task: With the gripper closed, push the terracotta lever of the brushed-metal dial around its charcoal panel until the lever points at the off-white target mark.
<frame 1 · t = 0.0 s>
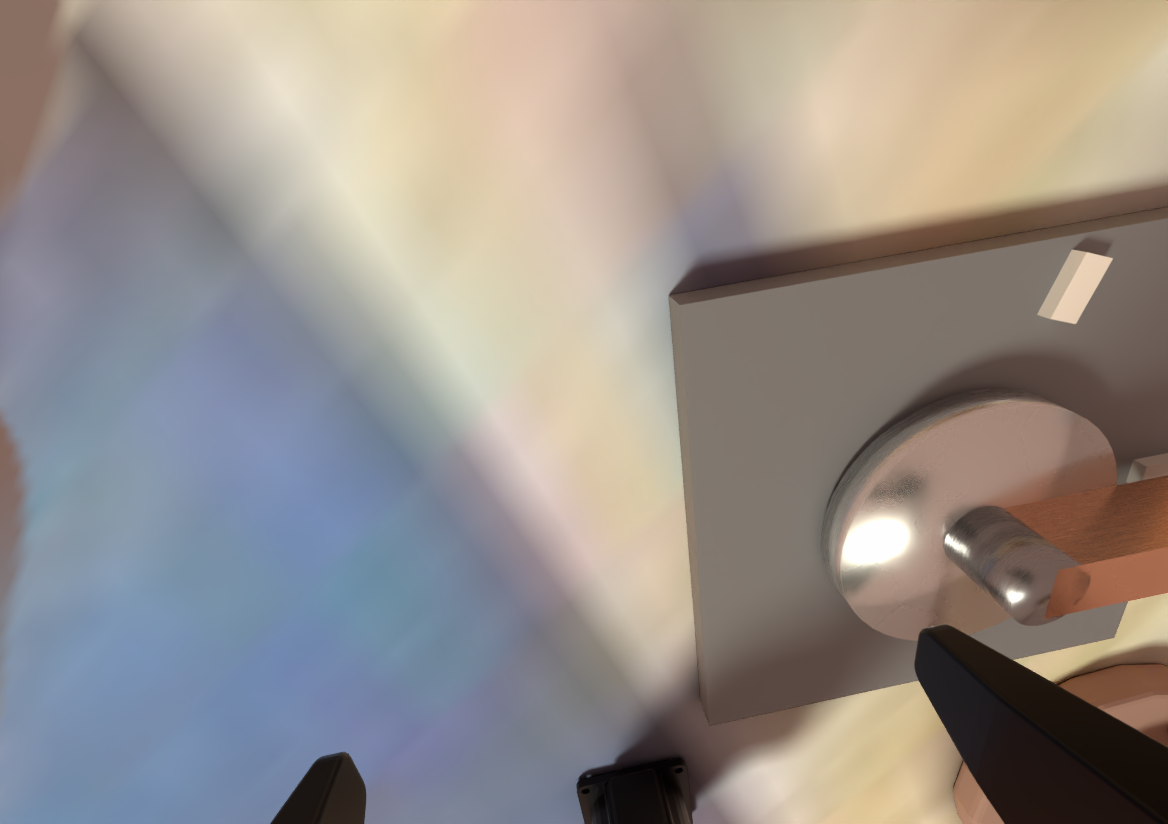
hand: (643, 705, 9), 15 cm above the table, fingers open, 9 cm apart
wooden pedestal stand: (1070, 750, 39), on the table
dial: (1052, 537, 23), point 4 cm above the table, hinge at 0.0°
panel: (922, 490, 27), on the table
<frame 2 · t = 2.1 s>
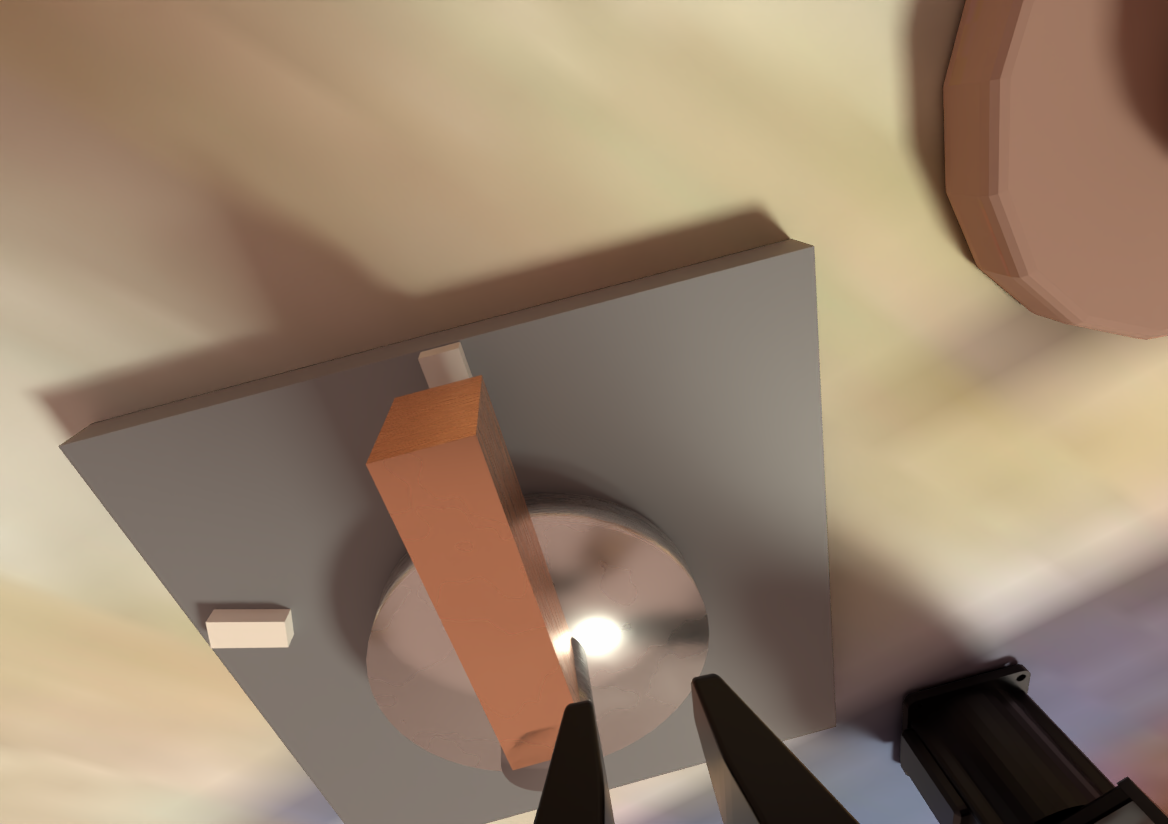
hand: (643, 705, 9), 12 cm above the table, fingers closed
dial: (525, 633, 18), point 4 cm above the table, hinge at 0.0°
panel: (538, 592, 23), on the table
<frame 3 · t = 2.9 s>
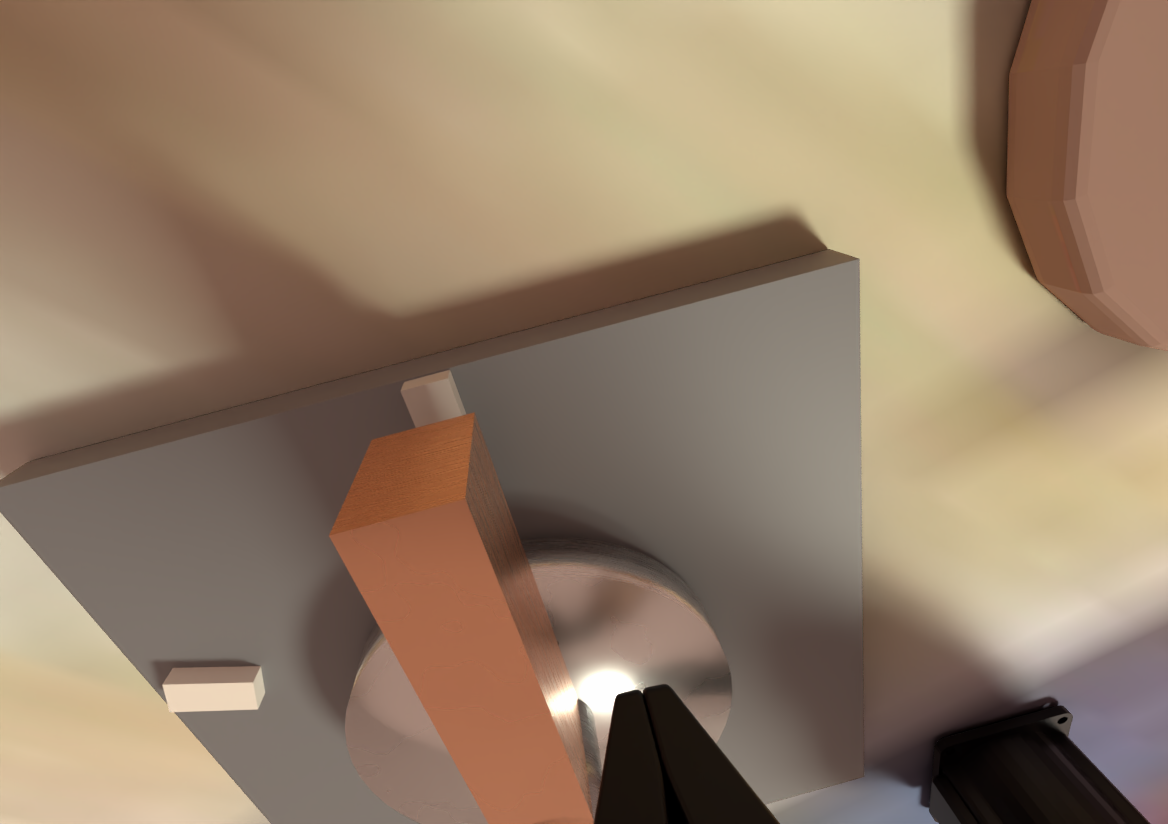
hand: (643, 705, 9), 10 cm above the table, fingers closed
dial: (526, 701, 16), point 4 cm above the table, hinge at 0.0°
panel: (540, 638, 21), on the table
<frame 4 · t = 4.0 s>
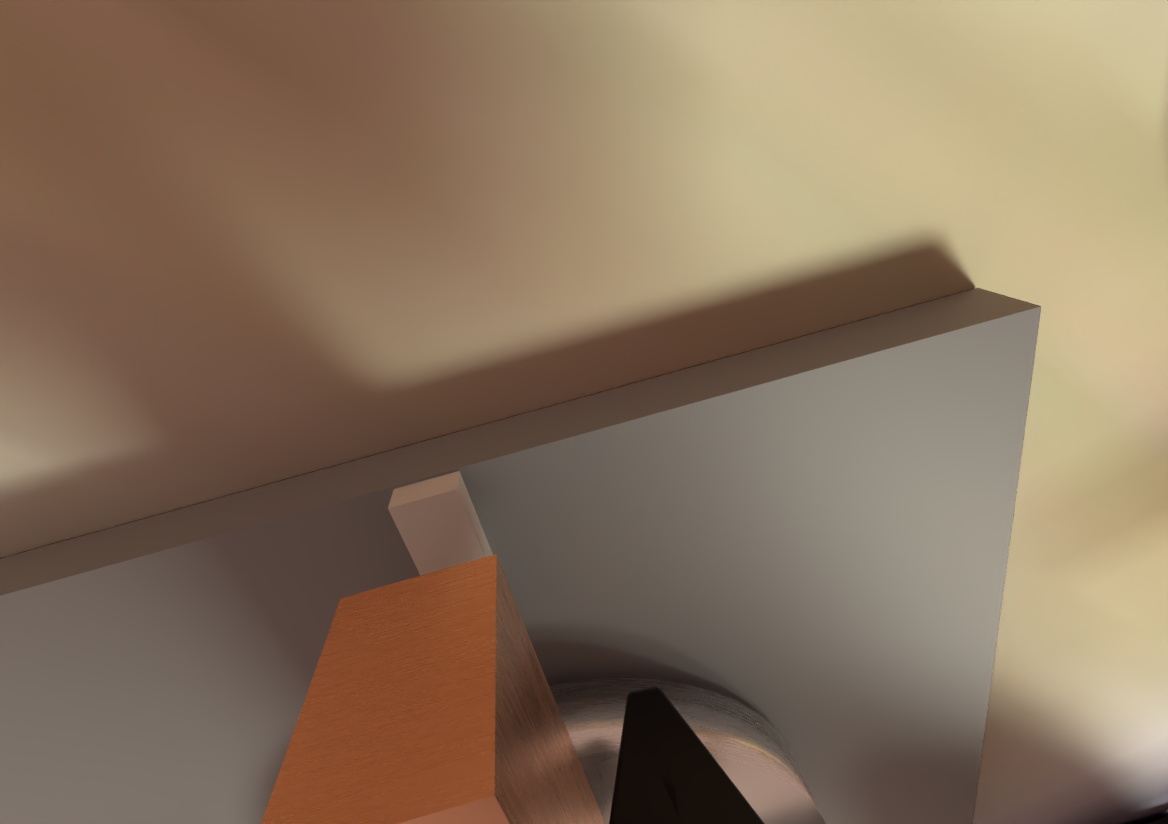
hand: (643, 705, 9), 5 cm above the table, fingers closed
panel: (572, 773, 16), on the table
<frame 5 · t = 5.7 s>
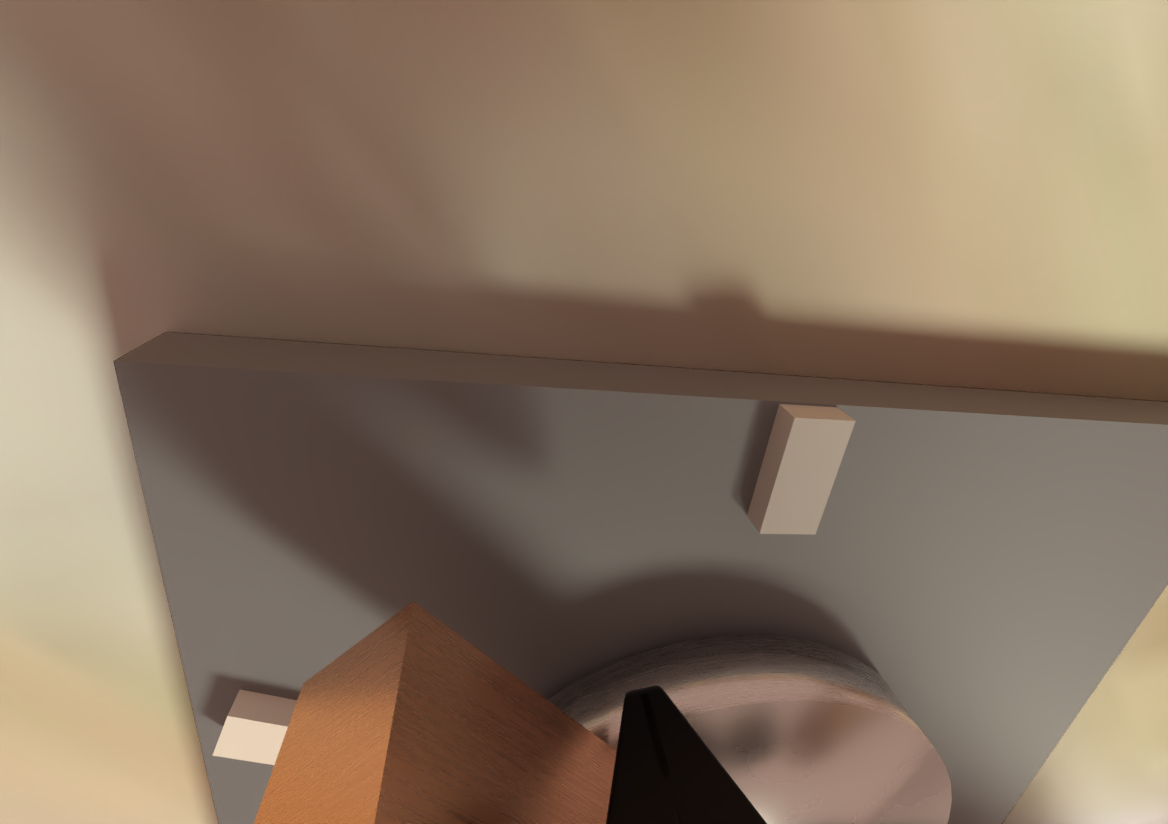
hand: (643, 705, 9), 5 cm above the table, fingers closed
panel: (672, 739, 17), on the table
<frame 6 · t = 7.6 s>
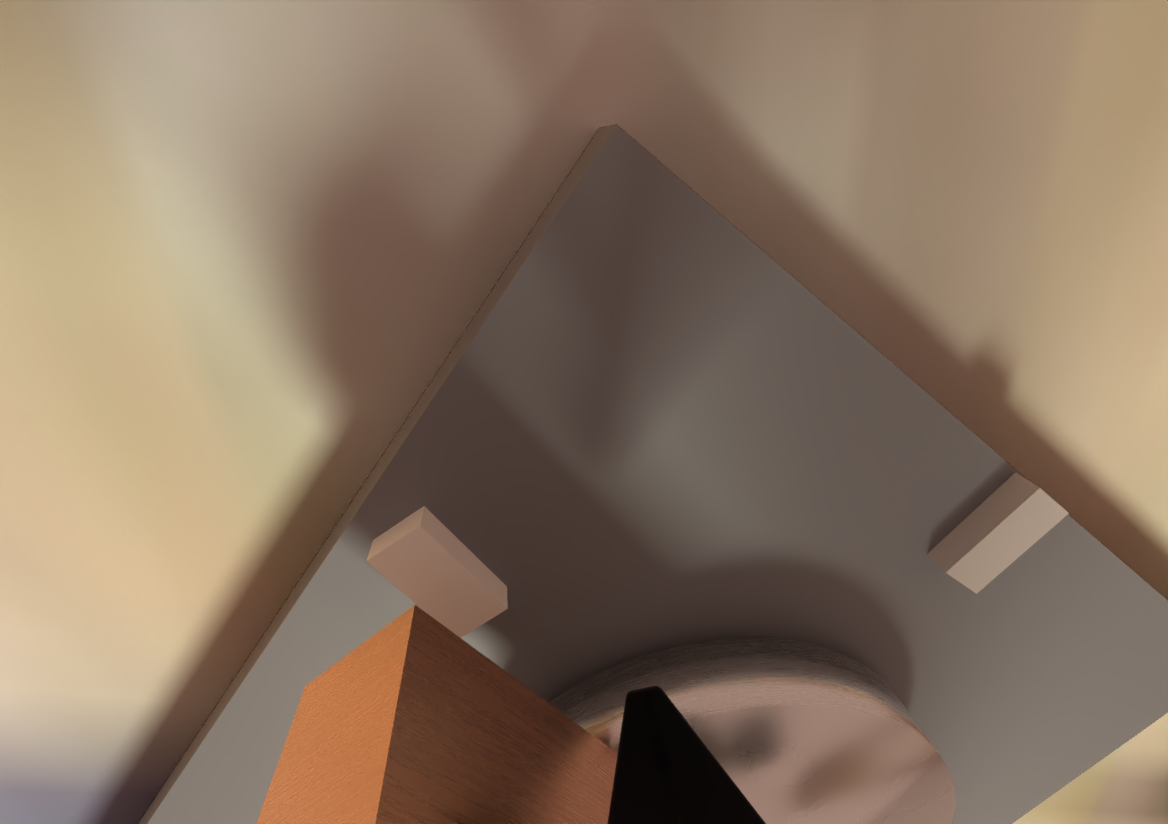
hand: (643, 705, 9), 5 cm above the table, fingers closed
panel: (674, 741, 17), on the table
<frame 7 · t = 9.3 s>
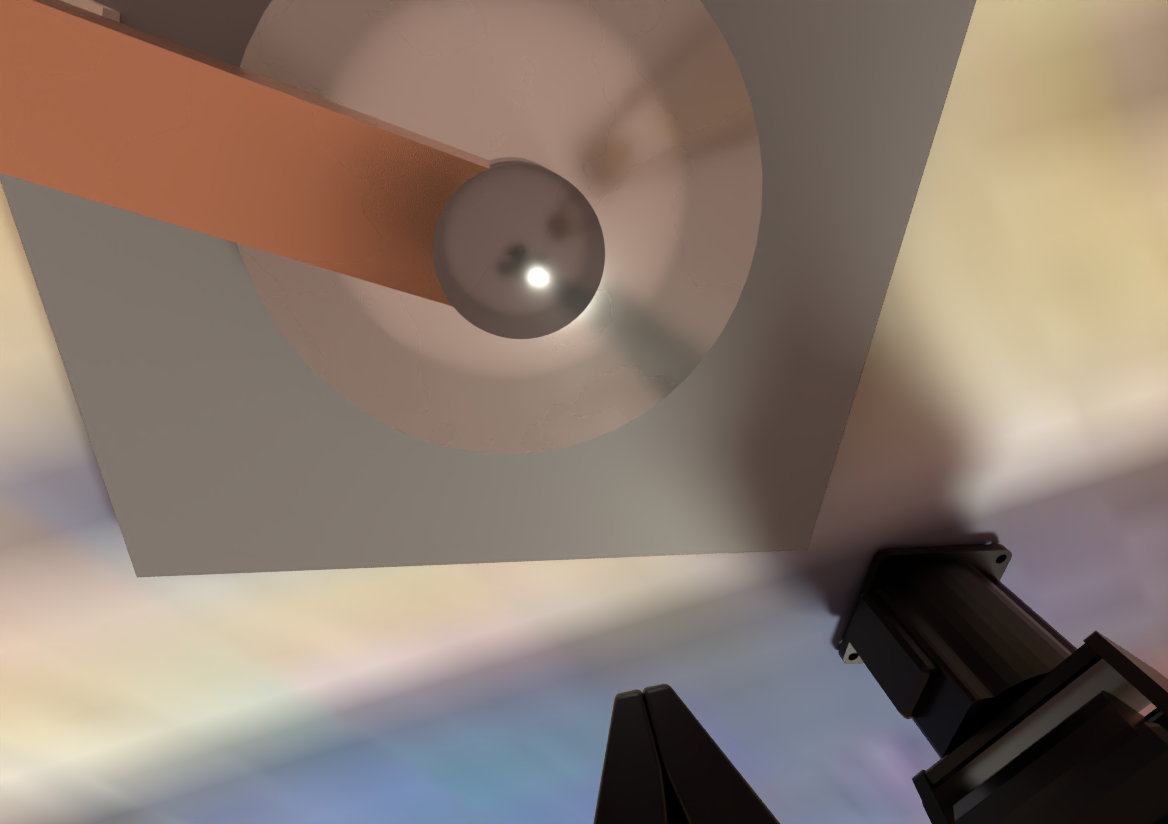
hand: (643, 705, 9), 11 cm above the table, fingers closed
dial: (397, 194, 11), point 4 cm above the table, hinge at 74.6°
panel: (509, 210, 16), on the table
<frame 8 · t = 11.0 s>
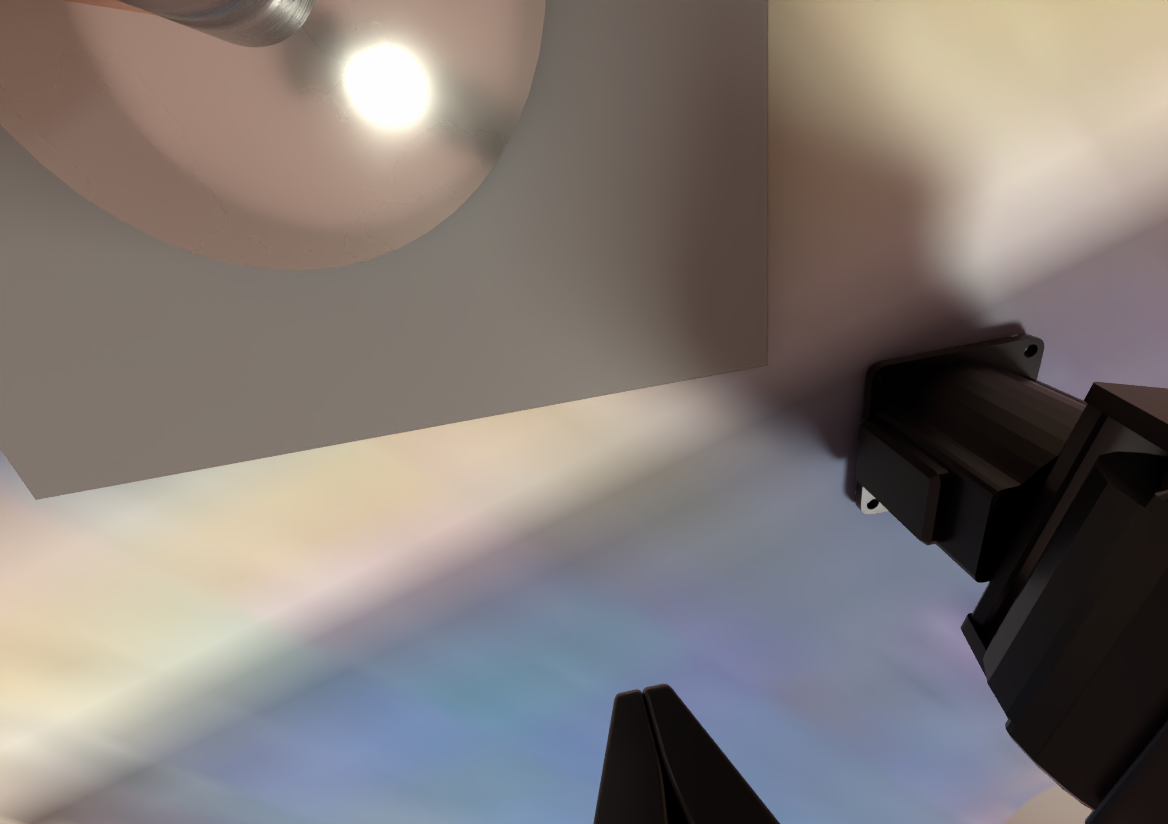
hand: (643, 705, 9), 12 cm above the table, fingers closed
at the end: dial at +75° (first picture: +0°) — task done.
